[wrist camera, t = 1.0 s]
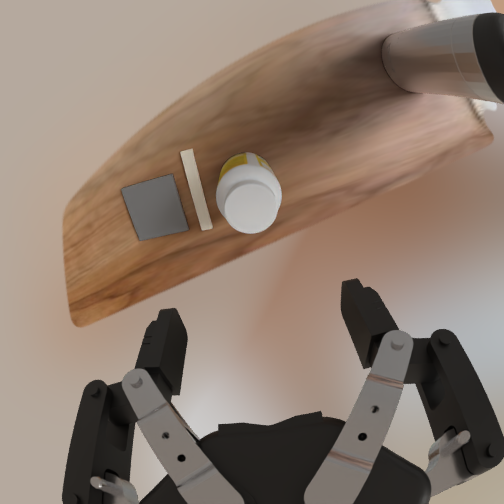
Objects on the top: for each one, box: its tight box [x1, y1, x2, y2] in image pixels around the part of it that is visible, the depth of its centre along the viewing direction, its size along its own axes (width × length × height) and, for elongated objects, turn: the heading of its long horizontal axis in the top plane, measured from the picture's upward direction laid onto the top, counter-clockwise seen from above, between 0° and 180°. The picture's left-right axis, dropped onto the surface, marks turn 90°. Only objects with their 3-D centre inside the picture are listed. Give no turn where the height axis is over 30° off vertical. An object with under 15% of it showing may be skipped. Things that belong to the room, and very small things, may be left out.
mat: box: [121, 174, 189, 241], centre depth 34 cm, size 8×8×1 cm
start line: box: [180, 149, 213, 231], centre depth 34 cm, size 2×11×1 cm, turn 11°
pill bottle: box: [216, 152, 282, 234], centre depth 28 cm, size 6×6×12 cm
